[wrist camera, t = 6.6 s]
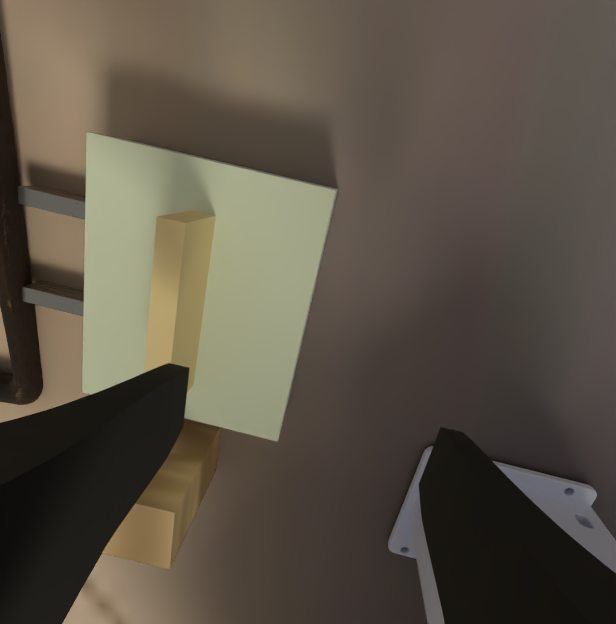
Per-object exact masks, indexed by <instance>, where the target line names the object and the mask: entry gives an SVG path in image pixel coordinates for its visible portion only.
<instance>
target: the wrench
mask: <svg viewBox="0 0 616 624" xmlns="http://www.w3.org/2000/svg"><path fill="white" fill-rule="evenodd" d="M18 186H20V182H19V173H18V165H17V157H16V149H15V141H14V133H13V125H12V118H11V110H10V102H9V93H8V86H7V77H6V69H5V62H4V54H3V47H2V40H1V33H0V307H1V312H2V317H3V322H4V327H5V332H6V337H7V342H8V348H9V353H10V359H11V365H12V371H13V374H10V373H4V372H0V402H6V403H12V404H18V405H24V404H29V403H32V402H34V401H35V400H37V399H38V398H39V396H40V394H41V392H42V388H43V380H42V370H41V363H40V353H39V344H38V336H37V329H36V320H35V312H34V304H32V303H28V302H24V301H23V300H22V286H26V285H29V284H31V280H30V272H29V262H28V254H27V244H26V235H25V225H24V216H23V207H22V204H18Z"/></svg>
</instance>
